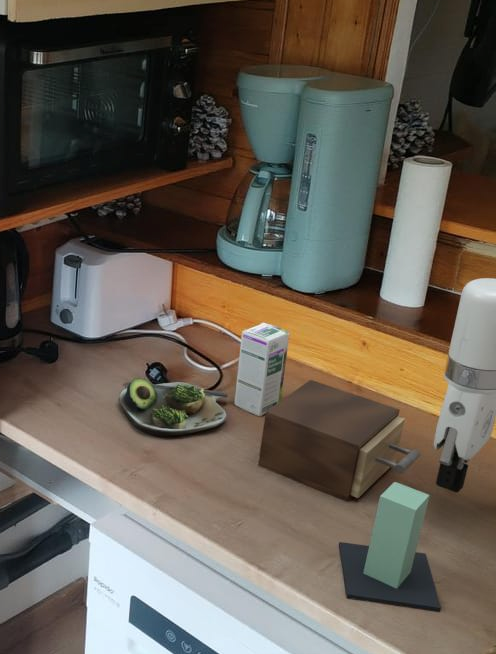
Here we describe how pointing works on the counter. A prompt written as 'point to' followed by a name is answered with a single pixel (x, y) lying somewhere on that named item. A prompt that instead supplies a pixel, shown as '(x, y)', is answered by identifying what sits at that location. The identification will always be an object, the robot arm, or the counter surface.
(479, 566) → the counter surface
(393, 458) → the drawer
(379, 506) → the block
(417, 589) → the slate mat
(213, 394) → the avocado toast plate
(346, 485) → the cabinet
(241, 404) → the syrup box
